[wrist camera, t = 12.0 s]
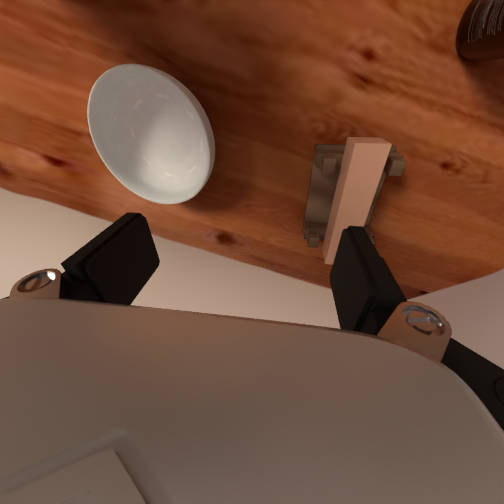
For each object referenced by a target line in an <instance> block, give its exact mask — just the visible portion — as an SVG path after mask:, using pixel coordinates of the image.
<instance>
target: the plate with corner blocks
mask: <svg viewBox="0 0 504 504" xmlns="http://www.w3.org/2000/svg"><path fill="white" fill-rule="evenodd" d="M345 146H346V145H334V144H316V146H315V153H314V159H313V166H312V172H311V179H310V185H309V191H308V198H307V204H306V211H305V217H304V224H303V230H302V232H303V234H304V239H307V241H308V247H317V248H318V243H319V240H324V238H325V234H326V229H327V225H328V221H329V216H330V212H331V208H332V203H333V199H334V194H335V190H336V186H337V181H338V177H339V173H340V168H341V164H342V160H343V155H344V151H345ZM395 149H396V147H395V146H391V148H390V151H389V154H388V157H387V160H386V163H385V166H384V169H383V172H382V175H381V177H380V180H379V183H378V186H377V189H376V192H375V195H374V198H373V201H372V204H371V207H370V210H369V212H368V215H367V218H366V221H365V224H364V229H365V230H366V232H367V234H368V236H369V238H370V239H371V241H372V243H373V245H374V240H373V238H372V237H373V232H372V231H371V229H370V227H369V226H368V224H369V222H370V219H371V216H372V213H373V210H374V207H375V205H376V202H377V199H378V196H379V193H380V191H381V188H382V185H383V182H384V179H385V177H386V174H387V175H388V176H401V174H402V172H403V169H404V167H405V164H406V162H407V161H405V160H404V159H403V156H401V155H399V154H398V153H396V152H394V151H395Z"/></svg>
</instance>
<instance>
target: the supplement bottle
mask: <svg viewBox="0 0 504 504" xmlns="http://www.w3.org/2000/svg"><path fill="white" fill-rule="evenodd" d="M456 43H457V48H458V51H459V53H460V54H461V56H462V57H464V58H465V59H467V60H469V61H487V60H493V59H499V58H504V0H472V1H471V3H470V4H469V5H468V7H467V9H466V10H465V12H464V14H463V16H462V18H461V21H460V23H459V26H458V30H457V37H456Z"/></svg>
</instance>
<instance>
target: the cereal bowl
mask: <svg viewBox="0 0 504 504" xmlns="http://www.w3.org/2000/svg"><path fill="white" fill-rule="evenodd" d="M88 124H89V129H90V133H91V137H92V140H93V142H94V145H95V147H96V149H97V151H98V153H99V155H100V157H101V159H102V160H103V162H104V163H105V165H106V166H107V168H108V169H109V170H110V172H111V173H112V174H113V175H114V176H115V177H116V178H117V179H118V180H119V181H120V182H121V183H122V184H123V185H124V186H125V187H127V188H128V189H129V190H131V191H132V192H133V193H135V194H137V195H138V196H140V197H142V198H144V199H147V200H149V201H152V202H156V203H161V204H177V203H182V202H185V201H187V200H189V199H191V198H193V197H194V196H195V195H197V194H198V193H199V192H200V191H201V189H202V188H203V187H204V185H205V184H206V182H207V181H208V179H209V177H210V175H211V172H212V169H213V165H214V161H215V141H214V136H213V131H212V128H211V125H210V122H209V119H208V117H207V115H206V113H205V111H204V109H203V108H202V106H201V104H200V103H199V102H198V100H197V99H196V97H195V96H194V95H193V94H192V92H190V90H189V89H188V88H186V87H185V86H184V85H183V84H182V83H181V82H180V81H178V80H177V79H175V78H174V77H173V76H171V75H169V74H168V73H165V72H163V71H161V70H159V69H156V68H154V67H150V66H146V65H141V64H135V63H134V64H122V65H118V66H115V67H113V68H111V69H109V70H107V71H106V72H105V73H103V74H102V75H101V76H100V77H99V78H98V79H97V81H96V82H95V84H94V86H93V88H92V90H91V93H90V96H89V101H88Z"/></svg>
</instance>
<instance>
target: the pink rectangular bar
mask: <svg viewBox="0 0 504 504" xmlns="http://www.w3.org/2000/svg"><path fill="white" fill-rule="evenodd" d="M391 145H392V144H391V143H389V142H388V141H386V140H384V139H382V138H372V137H348V138H347V142H346V146H345V151H344V155H343V160H342V164H341V168H340V173H339V177H338V181H337V186H336V190H335V194H334V199H333V203H332V208H331V212H330V216H329V221H328V225H327V229H326V234H325V238H324V242H323V247H322V253H323V257H324V262H325V264H333V262H334V259H335V255H336V252H337V248H338V245H339V241H340V237H341V234H342V231H343V229H347V228H348V226H363V227H364V224H365V221H366V218H367V215H368V212H369V210H370V207H371V204H372V201H373V198H374V195H375V192H376V189H377V186H378V183H379V180H380V177H381V175H382V172H383V169H384V166H385V163H386V160H387V157H388V154H389V151H390V148H391Z"/></svg>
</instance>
